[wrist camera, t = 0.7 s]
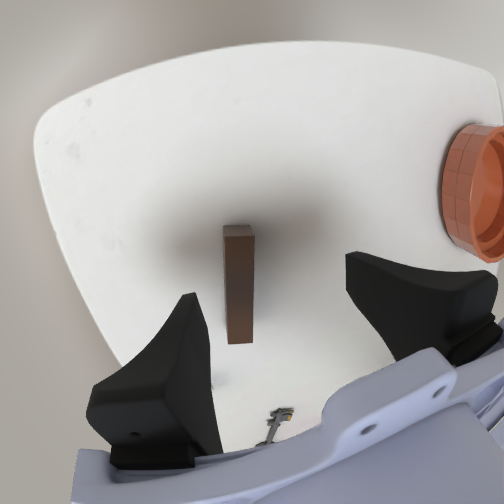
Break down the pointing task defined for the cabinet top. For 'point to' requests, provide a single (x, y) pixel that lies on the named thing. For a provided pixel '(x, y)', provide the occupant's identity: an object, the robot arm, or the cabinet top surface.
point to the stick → (239, 282)
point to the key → (277, 423)
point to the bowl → (476, 191)
